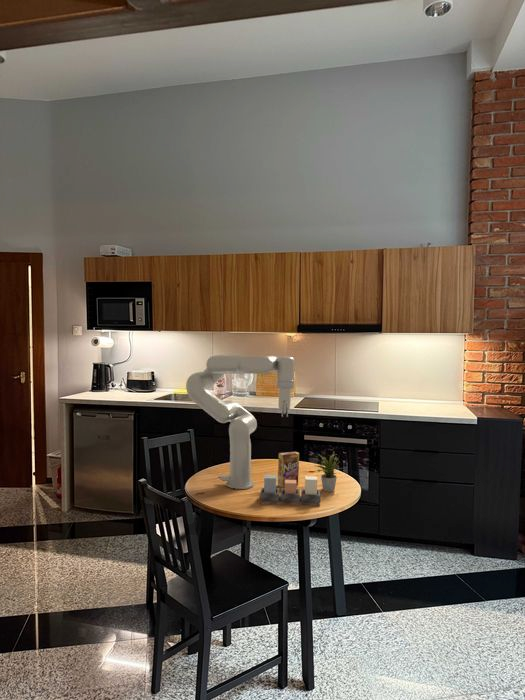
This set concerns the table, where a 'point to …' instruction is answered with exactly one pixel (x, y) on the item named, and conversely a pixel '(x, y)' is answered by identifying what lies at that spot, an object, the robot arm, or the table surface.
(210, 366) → the robot arm
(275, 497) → the button board
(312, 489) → the cream button
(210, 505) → the table surface
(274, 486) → the slate button
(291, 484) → the terracotta button
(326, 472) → the house plant
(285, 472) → the candy box
